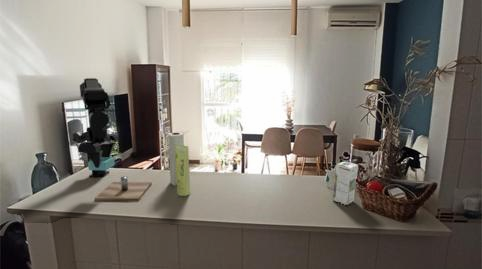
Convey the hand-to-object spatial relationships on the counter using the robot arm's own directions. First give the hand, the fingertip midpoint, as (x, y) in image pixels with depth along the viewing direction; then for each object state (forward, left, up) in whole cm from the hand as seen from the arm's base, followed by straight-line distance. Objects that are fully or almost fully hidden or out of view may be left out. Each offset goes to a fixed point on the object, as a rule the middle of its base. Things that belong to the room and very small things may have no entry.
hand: (101, 164), depth 111 cm
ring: (0, 0, -1) cm, 1 cm away
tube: (-1, +30, -12) cm, 32 cm away
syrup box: (+5, +90, -12) cm, 91 cm away
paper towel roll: (-12, +25, -12) cm, 30 cm away
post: (-2, +7, -11) cm, 13 cm away
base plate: (-2, +7, -12) cm, 14 cm away
